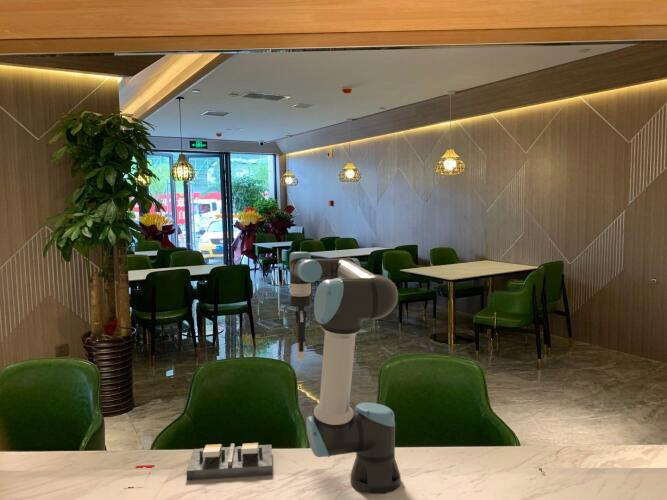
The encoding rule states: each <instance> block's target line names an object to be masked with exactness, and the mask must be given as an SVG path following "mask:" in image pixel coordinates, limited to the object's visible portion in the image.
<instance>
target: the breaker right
mask: <svg viewBox="0 0 667 500" xmlns="http://www.w3.org/2000/svg"><path fill="white" fill-rule="evenodd" d="M258 445H259V442H252V443H242V454H253V453H258Z"/></svg>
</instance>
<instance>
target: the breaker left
mask: <svg viewBox="0 0 667 500" xmlns="http://www.w3.org/2000/svg"><path fill="white" fill-rule="evenodd" d="M222 447H223V444H221V443H218V444H205V446H204V451H203V457H217V456H219V455H220V452H221V449H222Z"/></svg>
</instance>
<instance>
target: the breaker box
mask: <svg viewBox="0 0 667 500" xmlns="http://www.w3.org/2000/svg"><path fill="white" fill-rule="evenodd" d="M204 449H205V447H204V448H203V447H201V448H193V451H192V453H191V456H190V459H189V462H188V466H187V469H186V481H199V480H201V481H202V480H215V479H231V478H245V477H246V478H247V477H248V478H249V477H258V476H259V477H262V476H272V475H273V459H272V457H273V452H272V451H273V450H272V444H258V453H253V454H242V446H241V445H239V446H235V443H230V446H226V447H225V446H222V449H221V452H220V455H219V456H217V457H203V451H204Z"/></svg>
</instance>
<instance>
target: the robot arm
mask: <svg viewBox="0 0 667 500" xmlns="http://www.w3.org/2000/svg"><path fill="white" fill-rule="evenodd" d="M288 262H289V263H288V264H289V285H288V287H287V288H288V289H290V290H289V294H291V295H290V296H289V305H290V307H293V308H296V310H294V316H295V323H296V340H295V343H296V361H305V360H306V348H305V345H306V341H307V339H306V324H307V319H306V318H307V310H306V309H305V307H310V306H311V305H312V296H311V295H312V283H315V282H320V284H319V285H318V286H317V288H316V290H315V294H314V300H313V308H314V309H313V313H314V318H315V320H316V322H317V323H319V327H320V328H321V329H322V331H324V337H323V338H324V340H323V353H322V355H323V356H322V366H321V381H320V391H319V393H320V394H319V402H318V404H316V405H315V407H314V408H313V409H314V410H313V415H309V416H307V417H306V418H305V419H306V420H305V424H306V425H305V426H306V427H305V428H306V433H307V437H308V438H307V439H308V444H309V447H310V449H311V451H312V453H313V455H314V456H315V457H316V458H323V457H328V458H329V457H332V456H333V457H334V456H340V455H346V454H354V453H355V454H356V456H355V459H354V461H353V465H352V469H351V471H350V484H351V486H352V487H353V488H355V489H356V490H357V491H360V492H363V493H366V494H373V495H382V494H388V493H392V492H394V491H395V490H397V489H399V487H400V486H401V481H402V479H401V478H402V477H401V476H402V475H401V473H400V469H399V467H398V463H397V459H396V455H395V454H396V452H395V451H396V450H395V449H396V448H395V447H396V443H395V442H396V440H395V439H396V421H395V413H394V411H393V410H392V409H391V408H390V407H389V406H386V405H383V404H381V403H375V402H360V403H357V404H356V406H355V410H353V408H352V407H351V406H350V403H351V402H350V398H351V389H352V379H353V370H354V367H353V366H354V357H355V345H356V344H355V343H356V335H357V334H358V333H360V332H361V331H362V327H363V322H364V321H373V320H378V319H382V318H384V317H386V316H388V315H389V314H390V313H391V312H392V311H393V310H394V309H395V307H396V306H397V304H398V299H399V291H398V289H397V286H396V284H395V283H394V282H393V281H392V280H391V279H390V278H389V277H386V276H384V275H382V274H374V273H373V272H370V271H369V270H366V269H365V268H363V267H361V266H362V265H361V262H360V260H359V259H358V258H356V257H355V258H354V257H353V258H351V257H343V258H341V257H340V258H338V257H337V258H312V257H311V253H310V252H308V251H292V252H291V253H289V261H288Z"/></svg>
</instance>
